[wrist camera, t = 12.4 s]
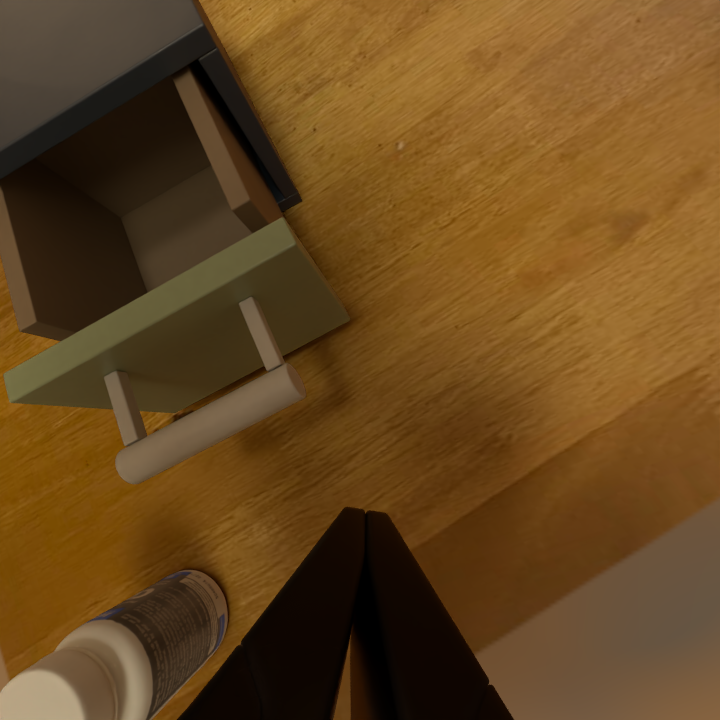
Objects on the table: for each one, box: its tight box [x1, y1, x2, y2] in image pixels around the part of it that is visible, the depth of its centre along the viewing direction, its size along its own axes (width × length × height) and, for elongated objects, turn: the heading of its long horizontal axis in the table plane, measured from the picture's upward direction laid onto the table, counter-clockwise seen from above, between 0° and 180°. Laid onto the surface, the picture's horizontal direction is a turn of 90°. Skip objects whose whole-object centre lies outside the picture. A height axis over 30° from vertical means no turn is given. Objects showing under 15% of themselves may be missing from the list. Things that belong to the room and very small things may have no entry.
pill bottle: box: [0, 570, 228, 720], centre depth 16 cm, size 5×5×8 cm
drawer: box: [0, 61, 350, 484], centre depth 18 cm, size 18×12×9 cm, turn 26°
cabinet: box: [0, 0, 302, 212], centre depth 21 cm, size 15×13×11 cm
